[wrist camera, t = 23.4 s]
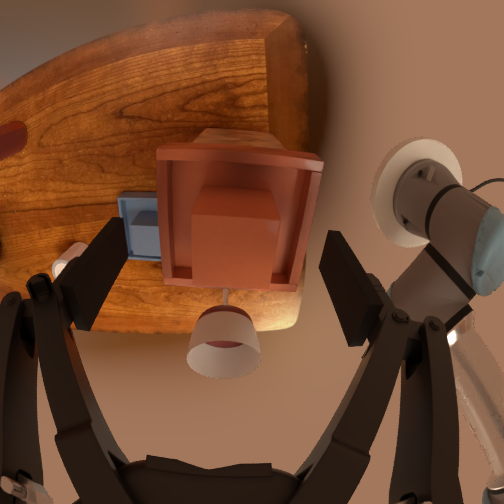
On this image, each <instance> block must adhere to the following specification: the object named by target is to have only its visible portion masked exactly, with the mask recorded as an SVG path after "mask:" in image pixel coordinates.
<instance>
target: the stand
mask: <svg viewBox="0 0 504 504" xmlns="http://www.w3.org/2000/svg"><path fill="white" fill-rule="evenodd" d="M323 167H324V161H323V160H322V159H321V158H319V157H318V156H317V155H316V154H313V153H307V152H300V151H292V150H286V148H285V147H284V146H283V145H282V144H281V143H280V142H279V141H278V140H277V139H276V138H275V136H274V135H273V134H272V133H269V132H259V131H248V130H235V129H219V128H206V129H205V130H204V131H203V132H202V133H201V134H200V135H199V136H198V137H197V138H196V139H195V140H194V141H193V142H192V143H180V142H166V143H164V144H163V145H161V146H160V147H158V148H157V149H156V185H157V210H158V227H159V240H160V252H161V263H162V273H163V282H164V285H176V286H190V287H205V288H221V289H239V290H260V291H286V292H296V290H297V286H298V282H299V278H300V274H301V269H302V265H303V261H304V257H305V253H306V248H307V244H308V240H309V235H310V230H311V226H312V222H313V217H314V212H315V208H316V203H317V198H318V193H319V188H320V183H321V178H322V171H323ZM202 186H210V187H228V188H243V189H256V190H268V191H271V192H272V195H273V198H274V201H275V204H276V207H277V210H278V213H279V216H280V219H281V223H280V229H279V236H278V242H277V248H276V253H275V259H274V265H273V271H272V277H271V282H270V288H269V289H251V288H231V287H213V286H197V285H193V283H192V251H191V214H192V211H193V209H194V206H195V203H196V200H197V198H198V195H199V192H200V190H201V187H202Z"/></svg>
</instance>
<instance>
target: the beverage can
mask: <svg viewBox="0 0 504 504" xmlns="http://www.w3.org/2000/svg"><path fill="white" fill-rule="evenodd" d="M26 140H27V131H26V128H25V126H24V125H23V124H22V123H21V122H19V121H15V122H12V123H9V124H5V125H2V126H0V161H2V160H4V159H6V158H8V157H10V156H12V155H14V154H16V153H18V152H20V151H21V150H22V149H23V147H24V146H25V143H26Z"/></svg>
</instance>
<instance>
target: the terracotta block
mask: <svg viewBox="0 0 504 504" xmlns="http://www.w3.org/2000/svg"><path fill="white" fill-rule="evenodd" d="M280 223H281V219H280V216H279V213H278V210H277V207H276V204H275V201H274V198H273V195H272V192H271V191H268V190H256V189H243V188H228V187H210V186H202V187H201V190H200V192H199V195H198V198H197V200H196V203H195V206H194V209H193V211H192V214H191V251H192V283H193V285H197V286H213V287H231V288H251V289H269V288H270V282H271V277H272V271H273V265H274V259H275V253H276V248H277V242H278V236H279V229H280Z"/></svg>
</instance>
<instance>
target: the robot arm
mask: <svg viewBox="0 0 504 504" xmlns="http://www.w3.org/2000/svg"><path fill="white" fill-rule="evenodd" d="M496 181H504V179H502V178H496V179H490V180H488V181H485V182H484V183H481V184H480V185H478V186H476V187H475V188H473V189H471V190H468V189H466V188H464V187H463V186H461V185H460V183H459V182H458V181H457V179H456V178H455V177H454V176H453V174H452V173H451V172H450V171H449V169H448V168H447V167H445V166H444V165H443V164H441V163H439V162H437V161H435V160H431V159H424V160H419V161H417V162H415V163H413V164H412V165H410V166H409V167H408V168H407V169H406V170H405V171H404V172H403V174H402V175H401V177H400V178H399V180H398V182H397V184H396V187H395V190H394V195H393V211H394V215H395V217H396V219H397V221H398V223H399V224H400V225H401V226H402V227H403V228H404V229H405V230H406V231H408V232H409V233H411V234H413V235H416V236H419V237H422V238H425V239H427V240H430V242H429V243H428V244H427V246H426V247H425V248H424V249H423V250H422V251H421V253H420V254H419V255H418V256H417V258H416V259H415V260H414V261H413V262H412V263H411V265H410V266H409V267H408V268H407V269H406V270H405V271H404V272H403V273H402V275H401V276H400V277H399V278H398V279H397V280H396V281H394V282H393V283H392V284H391V286H390V288H389V289H388V290H387V292H385V289H384V288H383V287H382V284H381V283H380V281H379V279H377V278H376V277H375V276H374V275H373V274H372V273H366V272H365V271H364V269H363V267H362V265H361V264H360V263H359V261H358V259H357V257H356V256H355V254H354V253H353V251H352V249H351V248H350V247H349V245H348V243H347V242H346V240H345V238H344V237H343V235H342V234H341V232H340V231H332V230H328V234H327V237H326V241H325V246H324V249H323V253H322V257H321V261H320V264H319V270H320V272H321V275H322V277H323V280H324V282H325V285H326V287H327V290H328V292H329V295H330V298H331V300H332V303H333V305H334V308H335V311H336V313H337V316H338V319H339V321H340V324H341V327H342V330H343V332H344V335H345V338H346V340H347V343H348V346H349V347H354V346H363V344H364V342H365V340H366V338H367V339H368V341H369V343H370V344H369V346H368V348H367V350H366V351H365V353H364V354H363V356H362V361H361V363H360V365H359V367H358V370H357V372H356V374H355V376H354V378H353V380H352V382H351V384H350V386H349V388H348V390H347V392H346V394H345V396H344V398H343V399H342V401H341V403H340V405H339V407H338V409H337V411H336V412H335V414H334V416H333V418H332V420H331V421H330V423H329V425H328V426H327V428H326V430H325V432H324V433H323V435H322V436H321V438H320V440H319V441H318V443H317V444H316V446H315V447H314V449H313V451H312V452H311V454H310V455H309V457H308V458H307V459H306V461H305V462H304V463H303V464H302V466H301V467H300V468H299V469H298V470H297V472H296V473H295V475H292V474H290V473H288V472H285V471H282V470H279V469H274V468H272V466H271V463H260V464H237V465H232V466H227V467H222V468H216V469H209V470H208V469H203V468H200V467H197V466H194V465H191V464H188V463H185V462H182V461H179V460H177V459H169V458H163V457H157V456H151V455H147V457H146V460H140V461H135V462H131V463H130V462H129V461H128V459H127V458H126V456H125V455H124V453H123V452H122V451H121V449H120V448H119V446H118V445H117V443H116V441H115V439H114V437H113V435H112V433H111V431H110V430H109V427H108V425H107V423H106V421H105V419H104V417H103V415H102V413H101V410H100V408H99V406H98V403H97V401H96V399H95V396H94V394H93V391H92V389H91V386H90V384H89V381H88V378H87V376H86V373H85V370H84V367H83V364H82V362H81V358H80V355H79V352H78V349H77V346H76V342H75V339H74V336H73V332H72V330H71V327H70V326H71V324H72V322H73V321H74V324H75V326H76V328H77V329H79V330H84V331H90V329H91V327H92V325H93V323H94V321H95V319H96V317H97V315H98V313H99V311H100V309H101V307H102V305H103V303H104V301H105V299H106V297H107V295H108V293H109V291H110V289H111V287H112V285H113V284H114V282H115V280H116V278H117V276H118V274H119V273H120V271H121V269H122V267H123V266H124V264H125V262H126V260H127V259H128V257H129V254H128V247H127V241H126V234H125V226H124V218H122V217H112V218H111V220H110V221H109V222H108V223H107V224H106V225H105V226H104V228H103V229H102V230H101V231H100V232H99V233H98V235H97V236H96V237H95V238H94V239H93V241H92V242H91V243H90V244H89V245H88V247H87V248H86V249H85V250H84V252H83V253H82V254H81V255H80V257H79V256H76V257H74V258H73V259H71V260H70V261H69V262H68V263H67V264H66V266H65V267H64V268H63V270H62V271H61V273H60V274H59V275H58V276H57V278H56V279H55V280H54V282H53V283H52V282H51V279H50V277H49V275H48V274H46V273H39V274H36V275H34V276H32V277H31V278H30V279H29V280H28V281H27V284H26V287H27V290H28V292H29V294H30V297H31V299H22V297H21V295H20V293H19V292H11V293H8V294H7V295H6V296H5V297H4V298H3V299H2V301H1V304H0V504H53V500H52V498H51V497H50V495H48V493H47V491H46V490H45V488H44V487H43V469H42V461H41V453H40V445H39V436H38V421H37V368H38V357H39V362H40V368H41V372H42V377H43V382H44V386H45V390H46V394H47V398H48V402H49V405H50V409H51V412H52V415H53V419H54V422H55V425H56V428H57V434H56V435H55V442H56V445H57V448H58V451H59V454H60V456H61V459H62V461H63V464H64V466H65V468H66V471H67V473H68V475H69V477H70V479H71V481H72V484H73V486H74V488H75V490H76V492H77V493H78V496H79V497H80V498H79V499H78V500H76V501H75V502H74V503H72V504H347V503H348V502H349V500H350V498H351V496H352V495H353V493H354V491H355V489H356V488H357V486H358V484H359V482H360V480H361V478H362V476H363V474H364V472H365V470H366V468H367V466H368V464H369V462H370V455H369V450H370V447H371V445H372V443H373V441H374V439H375V436H376V434H377V432H378V429H379V427H380V424H381V422H382V419H383V417H384V414H385V411H386V409H387V406H388V403H389V400H390V397H391V395H392V392H393V389H394V386H395V382H396V379H397V376H398V373H399V369H400V366H401V398H400V415H399V428H398V437H397V446H396V453H395V460H394V466H393V472H392V478H391V484H390V490H389V504H464V503H463V498H462V492H461V487H460V482H459V478H458V467H459V421H458V407H459V408H460V410H461V412H462V414H463V416H464V417H465V419H466V421H467V423H468V425H469V426H470V428H471V430H472V432H473V434H474V436H475V438H476V440H477V442H478V444H479V446H480V448H481V450H482V451H483V454H484V456H485V458H486V460H487V462H488V464H489V467H490V469H491V471H492V472H491V474H490V476H489V478H488V481H487V487H486V488H485V490H484V492H483V498H482V504H504V372H503V370H502V369H501V367H500V365H499V364H498V362H497V361H496V359H495V358H494V356H493V354H492V353H491V351H490V350H489V348H488V347H487V345H486V344H485V342H484V341H483V340H482V338H481V337H480V335H479V334H478V332H477V331H476V330H475V327H474V316H475V315H474V314H475V312H474V310H473V309H472V308H471V307H470V305H469V304H468V303H469V302H470V300H471V299H472V298H473V297H474V296H475V295H476V294H478V295H481V296H488V295H490V294H491V293H492V291H495V290H496V289H497V288H498V287H499V286H500V285H501V284H502V282H503V281H504V214H502V213H501V211H500V210H499V209H498V208H496V207H494V206H492V205H491V204H489V203H488V202H486V201H485V200H483V199H482V198H480V197H478V196H477V195H475V194H474V193H472V192H474V191H476V190H477V189H479V188H481V187H482V186H484V185H486V184H488V183H491V182H496Z"/></svg>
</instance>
